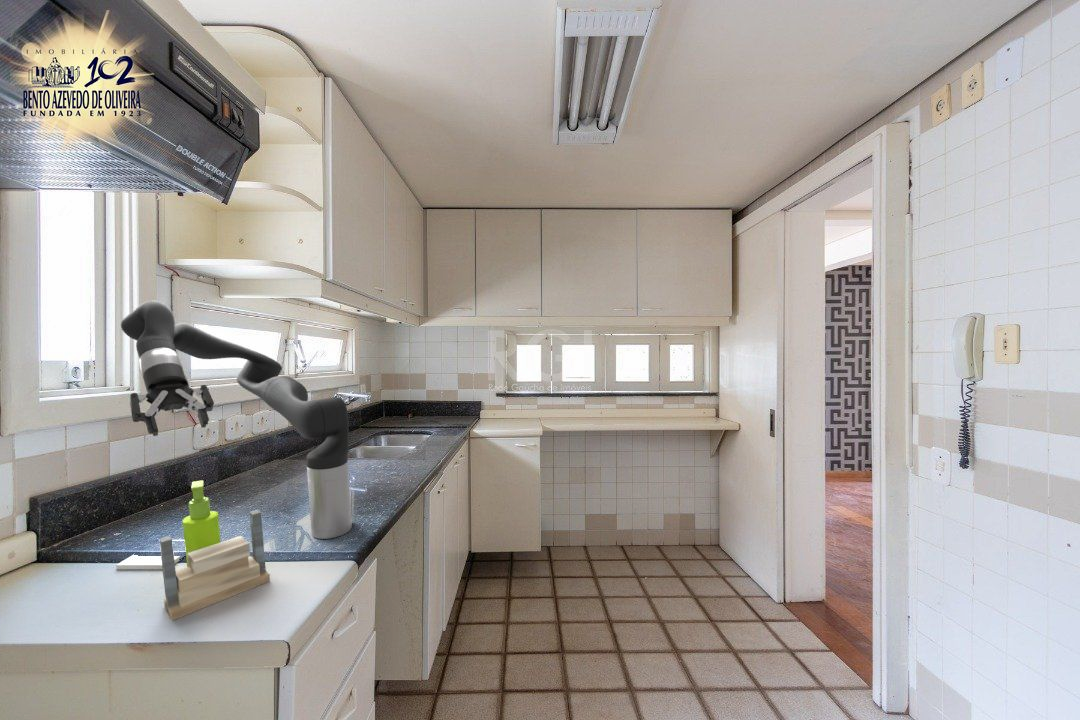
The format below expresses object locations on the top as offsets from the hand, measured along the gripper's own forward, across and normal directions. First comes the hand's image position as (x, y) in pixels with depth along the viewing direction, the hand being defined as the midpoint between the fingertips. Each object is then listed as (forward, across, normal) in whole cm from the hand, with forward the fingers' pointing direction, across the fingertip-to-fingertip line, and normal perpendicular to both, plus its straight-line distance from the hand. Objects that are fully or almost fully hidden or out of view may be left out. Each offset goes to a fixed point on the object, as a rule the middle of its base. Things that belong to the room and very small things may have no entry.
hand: (180, 429), depth 102 cm
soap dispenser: (+29, 0, -13) cm, 32 cm away
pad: (+16, +4, -25) cm, 30 cm away
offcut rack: (+35, 0, -6) cm, 35 cm away
